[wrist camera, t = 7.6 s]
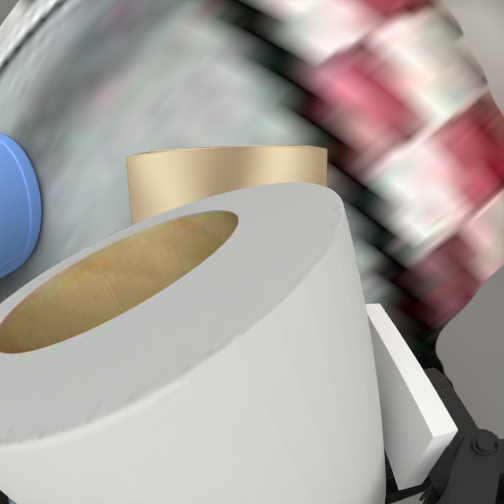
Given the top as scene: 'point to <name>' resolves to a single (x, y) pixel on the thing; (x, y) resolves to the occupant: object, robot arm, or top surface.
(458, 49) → the top surface
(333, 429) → the toilet paper
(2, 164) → the water jug
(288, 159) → the oak brick
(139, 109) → the top surface
